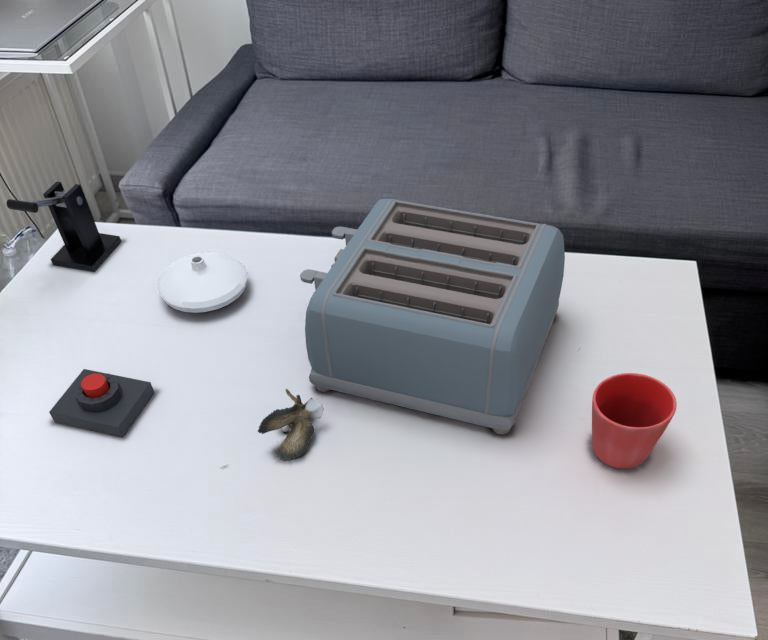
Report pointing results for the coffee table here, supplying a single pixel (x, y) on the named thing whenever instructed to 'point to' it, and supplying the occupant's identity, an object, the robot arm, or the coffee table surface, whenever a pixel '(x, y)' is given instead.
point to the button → (95, 385)
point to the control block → (103, 404)
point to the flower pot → (629, 418)
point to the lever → (37, 203)
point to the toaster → (436, 311)
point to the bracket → (79, 232)
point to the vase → (202, 282)
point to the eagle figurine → (293, 425)
